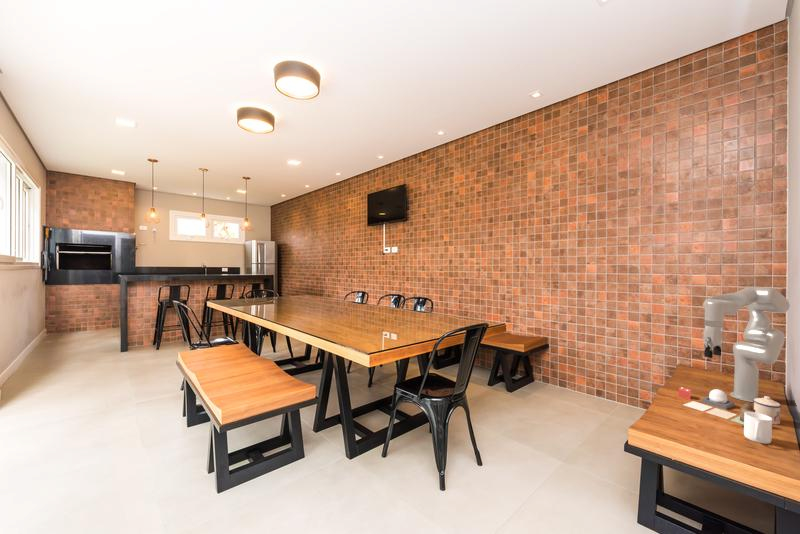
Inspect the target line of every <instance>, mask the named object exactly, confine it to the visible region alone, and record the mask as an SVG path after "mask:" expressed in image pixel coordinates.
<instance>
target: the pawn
mask: <svg viewBox="0 0 800 534" xmlns="http://www.w3.org/2000/svg"><path fill="white" fill-rule="evenodd" d="M745 412H755V410H754V405H753V404H751V403H750V402H745V403H743V404H742V405H741V406H740V409H739V416H740V420H741V421H743V422H744V413H745Z"/></svg>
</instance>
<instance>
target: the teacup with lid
mask: <svg viewBox="0 0 800 534" xmlns="http://www.w3.org/2000/svg"><path fill="white" fill-rule="evenodd" d="M781 408H782V405H781V404H780V403H779V402H778V401H775V400H773V399H772V398H771V397H770V396H768V395H767V396H766V395H764V397H759V398H755V399H754V402H753V409H754V410H755V412H756V413H760V414H764V415H766V416H769V417H771V418H772V425H775V426H776V425H780V424H781Z"/></svg>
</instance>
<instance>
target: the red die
mask: <svg viewBox="0 0 800 534" xmlns="http://www.w3.org/2000/svg"><path fill="white" fill-rule="evenodd" d="M678 397H679V398H684V399H688V400H691V399H692V389H690V388H685V387H683V386H682V387H679V388H678Z"/></svg>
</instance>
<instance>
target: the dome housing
mask: <svg viewBox="0 0 800 534" xmlns="http://www.w3.org/2000/svg"><path fill="white" fill-rule="evenodd" d="M701 404H705V405H708V406H711V407H715V408H718V409H721V410H728V409H732V408H734V407H735V405H736V404H735V401H731V400H728V399H727V404H721V403H717V402H714V401H710V400H709V395H708V396H706V397H702V398H701Z"/></svg>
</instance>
